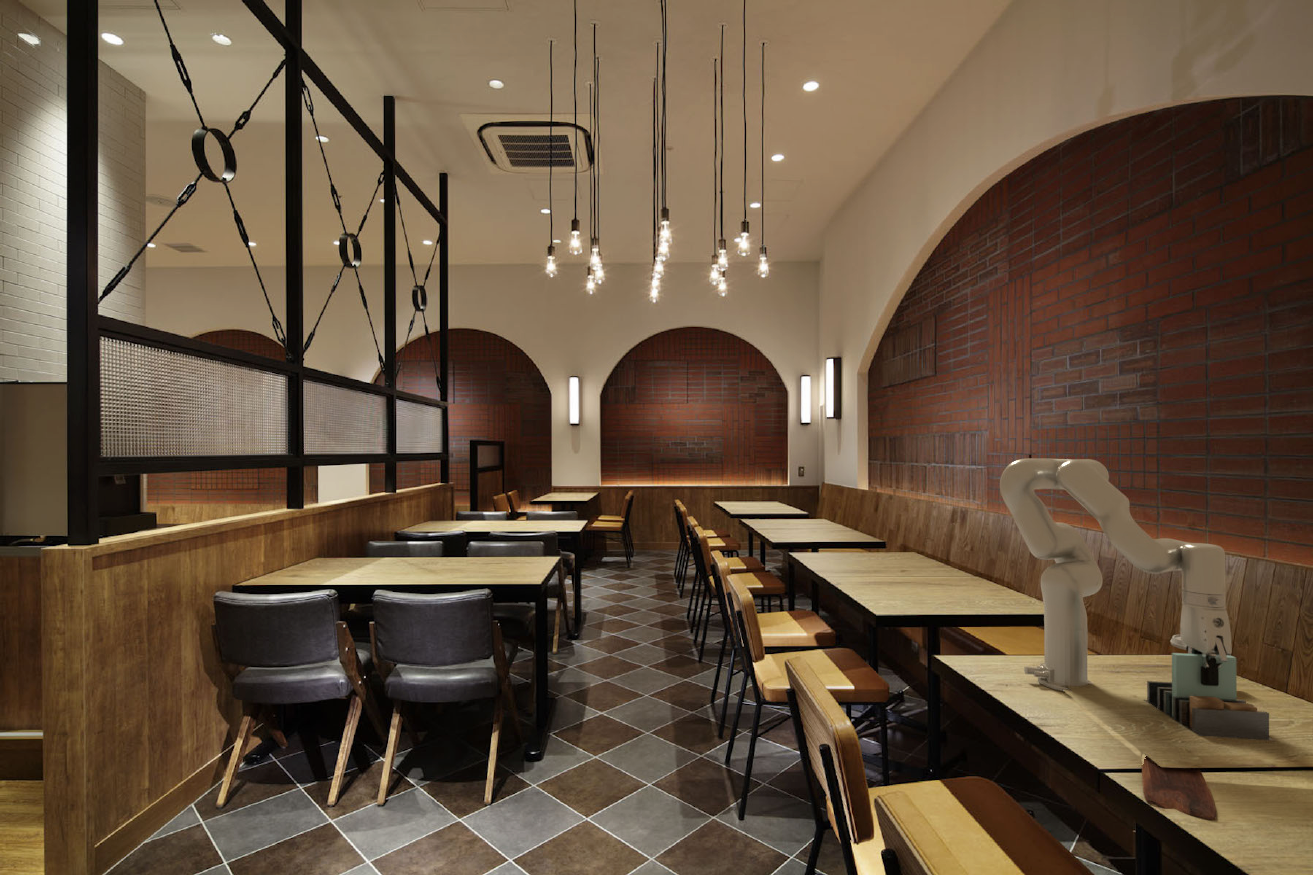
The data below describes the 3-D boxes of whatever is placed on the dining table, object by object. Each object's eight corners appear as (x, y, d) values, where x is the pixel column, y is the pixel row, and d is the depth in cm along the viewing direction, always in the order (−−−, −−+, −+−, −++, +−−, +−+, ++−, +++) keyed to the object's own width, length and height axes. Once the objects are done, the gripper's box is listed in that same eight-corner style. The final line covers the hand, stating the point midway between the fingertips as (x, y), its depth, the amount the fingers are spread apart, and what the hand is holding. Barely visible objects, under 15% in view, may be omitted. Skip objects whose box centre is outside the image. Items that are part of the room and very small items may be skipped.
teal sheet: (1176, 718, 147) (1176, 655, 147) (1172, 715, 149) (1171, 652, 149) (1236, 721, 145) (1236, 657, 146) (1231, 718, 147) (1231, 655, 147)
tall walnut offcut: (1197, 730, 141) (1197, 699, 141) (1189, 725, 143) (1189, 695, 143) (1223, 732, 140) (1223, 701, 140) (1215, 727, 142) (1215, 696, 142)
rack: (1199, 742, 138) (1199, 711, 138) (1143, 705, 158) (1143, 678, 158) (1274, 747, 136) (1274, 715, 136) (1208, 709, 156) (1208, 681, 156)
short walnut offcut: (1230, 732, 140) (1230, 706, 140) (1222, 727, 142) (1222, 701, 142) (1257, 734, 139) (1257, 707, 139) (1248, 729, 141) (1248, 703, 142)
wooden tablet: (1139, 742, 136) (1201, 749, 130) (1140, 753, 136) (1203, 761, 130) (1142, 799, 114) (1217, 810, 109) (1144, 812, 114) (1219, 824, 109)
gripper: (1249, 609, 139) (1250, 696, 138) (1197, 592, 155) (1198, 670, 155) (1209, 607, 140) (1210, 694, 140) (1162, 590, 156) (1162, 669, 156)
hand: (1203, 681), depth 147 cm, fingers open, 3 cm apart
